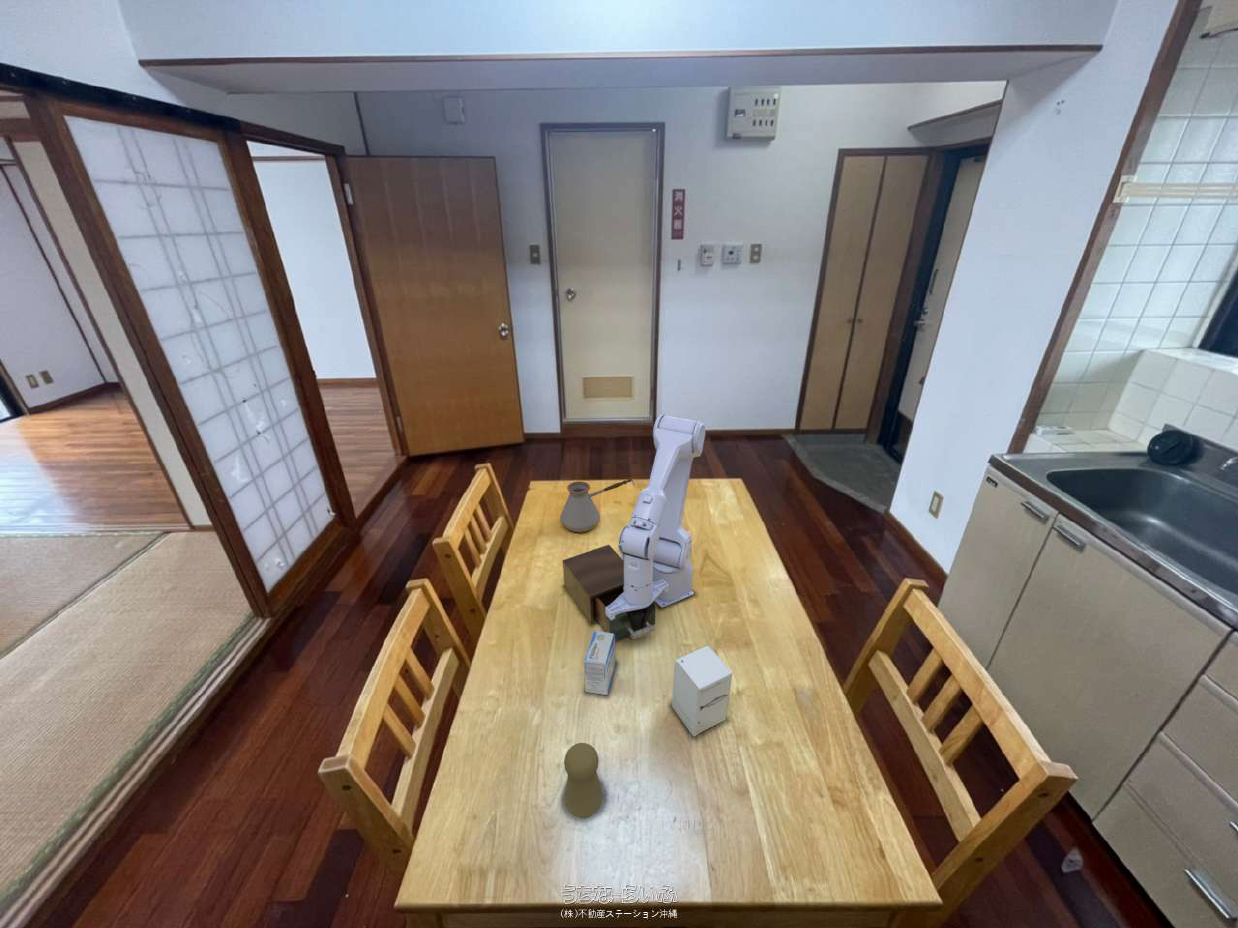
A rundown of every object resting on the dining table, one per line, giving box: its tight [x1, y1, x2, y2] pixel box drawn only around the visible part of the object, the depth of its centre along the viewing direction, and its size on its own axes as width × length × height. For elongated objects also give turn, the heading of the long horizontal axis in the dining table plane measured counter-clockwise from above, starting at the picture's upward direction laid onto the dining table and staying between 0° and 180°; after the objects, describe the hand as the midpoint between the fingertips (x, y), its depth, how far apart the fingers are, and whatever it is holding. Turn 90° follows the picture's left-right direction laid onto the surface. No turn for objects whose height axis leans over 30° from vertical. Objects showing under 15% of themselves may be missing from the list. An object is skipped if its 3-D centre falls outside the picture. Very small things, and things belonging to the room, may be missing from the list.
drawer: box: [593, 587, 657, 643], centre depth 114 cm, size 18×11×6 cm, turn 29°
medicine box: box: [583, 630, 616, 696], centre depth 101 cm, size 8×4×9 cm, turn 168°
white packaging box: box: [671, 644, 733, 737], centre depth 92 cm, size 7×7×13 cm
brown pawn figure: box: [563, 742, 604, 819], centre depth 80 cm, size 6×6×11 cm
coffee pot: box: [559, 478, 635, 534], centre depth 147 cm, size 21×12×15 cm, turn 92°
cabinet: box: [562, 544, 624, 625], centre depth 122 cm, size 15×13×8 cm
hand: (637, 629), depth 109 cm, fingers closed, pressing on drawer
